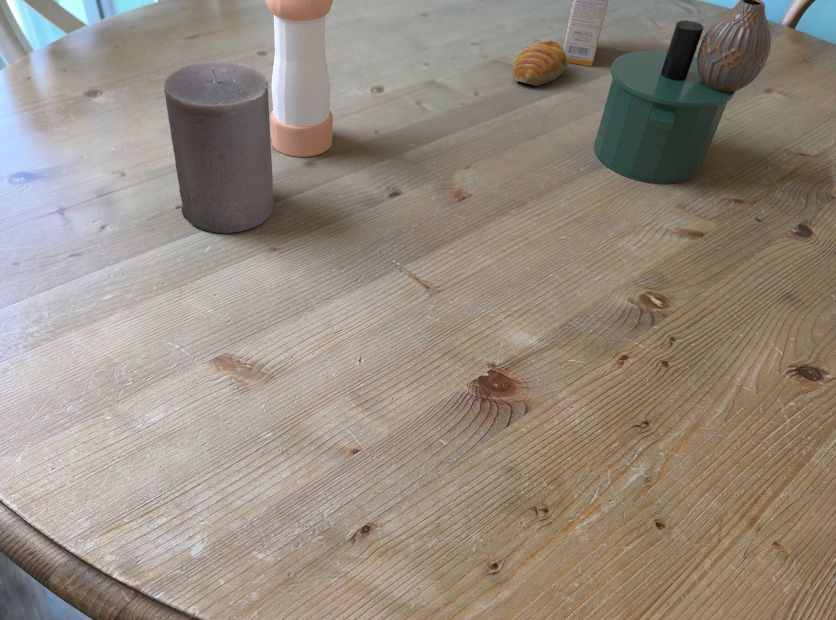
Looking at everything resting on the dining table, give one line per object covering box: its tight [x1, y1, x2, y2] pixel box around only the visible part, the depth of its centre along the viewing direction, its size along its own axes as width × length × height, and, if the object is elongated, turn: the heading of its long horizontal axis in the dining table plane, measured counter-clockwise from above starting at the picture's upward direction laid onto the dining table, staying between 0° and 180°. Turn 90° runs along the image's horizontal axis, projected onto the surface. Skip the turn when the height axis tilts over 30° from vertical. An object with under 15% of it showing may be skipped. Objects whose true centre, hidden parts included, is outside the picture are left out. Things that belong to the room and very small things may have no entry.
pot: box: [593, 78, 728, 185], centre depth 88 cm, size 13×18×10 cm
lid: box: [610, 20, 737, 108], centre depth 82 cm, size 14×14×7 cm
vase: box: [696, 0, 772, 92], centre depth 80 cm, size 7×7×9 cm
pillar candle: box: [163, 61, 275, 234], centre depth 74 cm, size 10×10×15 cm
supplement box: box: [563, 0, 610, 67], centre depth 108 cm, size 8×5×13 cm, turn 163°
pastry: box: [512, 39, 569, 87], centre depth 105 cm, size 9×7×4 cm
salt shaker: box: [265, 0, 334, 158], centre depth 83 cm, size 7×7×19 cm
